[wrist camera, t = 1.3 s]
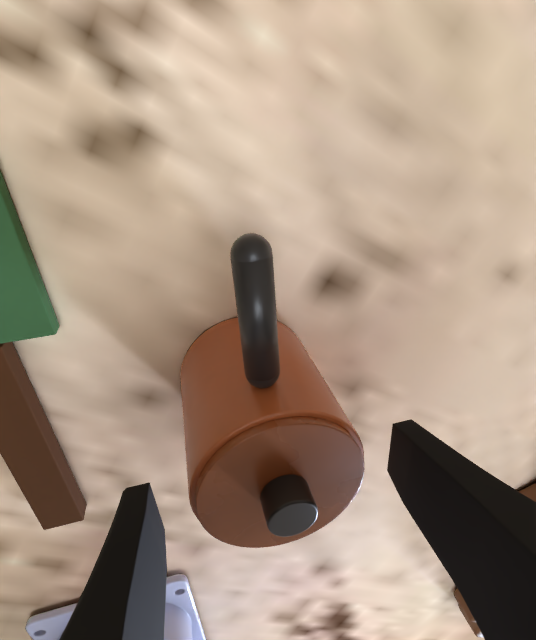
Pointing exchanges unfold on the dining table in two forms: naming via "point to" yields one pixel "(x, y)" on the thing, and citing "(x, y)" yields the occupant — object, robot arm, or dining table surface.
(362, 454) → the pot
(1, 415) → the spatula
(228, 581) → the dining table surface
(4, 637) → the dining table surface
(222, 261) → the dining table surface
